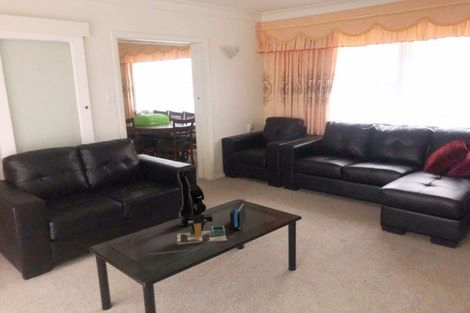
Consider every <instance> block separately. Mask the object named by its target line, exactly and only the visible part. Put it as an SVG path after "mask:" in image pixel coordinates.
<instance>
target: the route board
mask: <svg viewBox="0 0 470 313" xmlns="http://www.w3.org/2000/svg"><path fill="white" fill-rule="evenodd" d="M201 235H202V236H199V237H195V233H194V231H193V229H192V227H190V232H183V233H180V232H179V233H177V234H176V236H177V238H176V239H177V240H176V244H177V245H187V244H196V243H206V242H207V243H208V242H215V243H222V242H227V241H228V239H227V236H226V228H225V226H224V225H223V224H222V225H214V226H212V225H211V230H202V232H201Z"/></svg>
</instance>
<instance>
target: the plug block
mask: <svg viewBox="0 0 470 313" xmlns="http://www.w3.org/2000/svg"><path fill="white" fill-rule="evenodd" d="M193 224H194V223H193ZM194 229H195V237H199V236H202V235H201V224H199V223H198V224H194Z"/></svg>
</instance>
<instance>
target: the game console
mask: <svg viewBox="0 0 470 313" xmlns="http://www.w3.org/2000/svg"><path fill="white" fill-rule="evenodd" d="M229 212H230V214H229V215H230V216H229V217H230V218H229V220H230V221H229V222H230V230H231V231H232V230H234V231H236V230H237V231H238V230H239V231H241V229H242V228H243V226H244V225H245V222H246V221H247V204H246V200H245V199H244V198H242V199H240V202H239V203H238V202H237V203H236V204H235V205H234V206H233V208H232V209H231V211H229Z"/></svg>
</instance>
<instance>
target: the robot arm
mask: <svg viewBox="0 0 470 313" xmlns="http://www.w3.org/2000/svg"><path fill="white" fill-rule="evenodd" d="M176 176H177V179H178V180H177V181H179V183H180V190H181V203H182V204H181V206H180V207H179V208H180V210H179V212H178V218H179V219H180V220H181V226H182V227H185V228H187V227H190V226H191V227H190V228H192V229H193V231H194V233H195V229H194V224H198V223H199V224H201V232H202V231H204V230H203V229H204V226H205V225H206V224H207V222H210V223H211V222H213V220H214V219H213V215H212V214H203V213H205V211H206V210H207V206H206V204H205V203H204V202H203V200H205V193H204V191H203V190H202V188H201V186H199V185H198V184H196V181H195V179H194V177H193V175H192V170H190V169H183V170H182V169H181V170H178V171H177V173H176ZM190 201H191V205H190Z"/></svg>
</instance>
